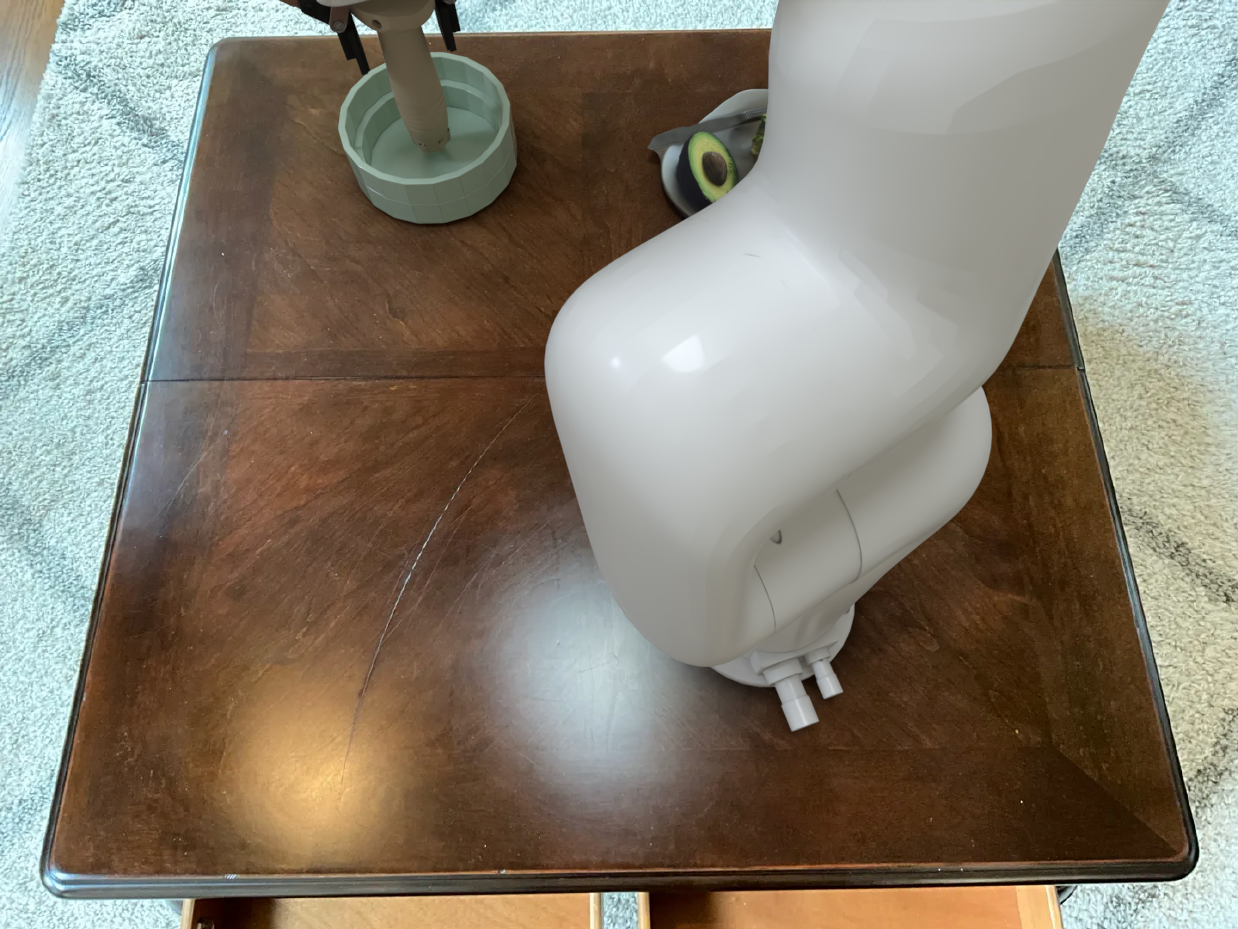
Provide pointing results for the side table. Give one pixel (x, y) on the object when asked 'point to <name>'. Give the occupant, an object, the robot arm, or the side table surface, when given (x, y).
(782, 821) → the side table surface
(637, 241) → the side table surface
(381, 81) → the bowl
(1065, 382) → the side table surface
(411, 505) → the side table surface
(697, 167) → the avocado toast plate
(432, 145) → the handle
